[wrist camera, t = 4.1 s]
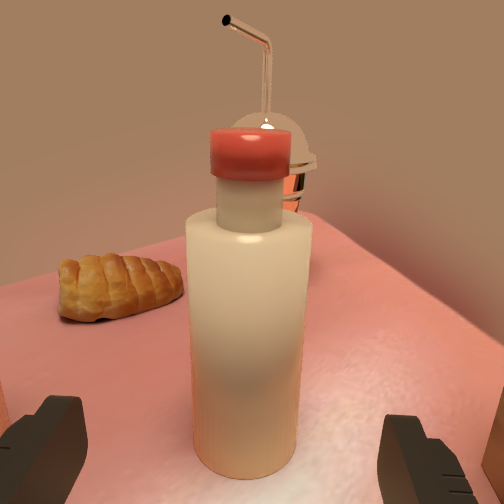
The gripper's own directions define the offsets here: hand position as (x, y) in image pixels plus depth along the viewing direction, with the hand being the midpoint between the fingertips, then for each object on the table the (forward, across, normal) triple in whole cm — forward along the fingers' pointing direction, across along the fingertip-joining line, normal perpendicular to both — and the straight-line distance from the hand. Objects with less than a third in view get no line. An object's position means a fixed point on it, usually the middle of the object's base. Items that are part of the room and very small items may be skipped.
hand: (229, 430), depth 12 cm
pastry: (+21, +11, +8) cm, 25 cm away
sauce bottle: (+8, 0, +8) cm, 11 cm away
